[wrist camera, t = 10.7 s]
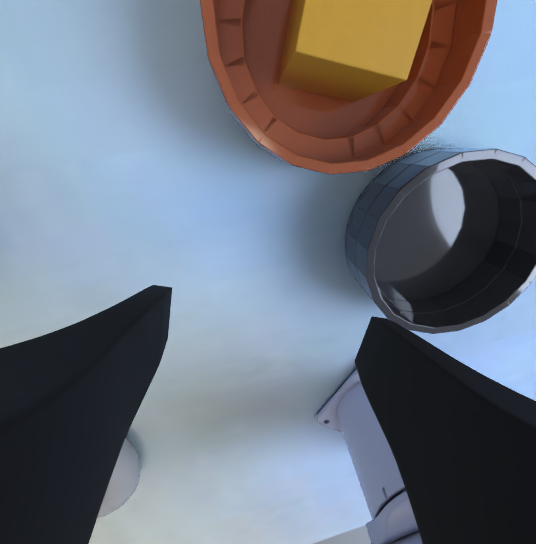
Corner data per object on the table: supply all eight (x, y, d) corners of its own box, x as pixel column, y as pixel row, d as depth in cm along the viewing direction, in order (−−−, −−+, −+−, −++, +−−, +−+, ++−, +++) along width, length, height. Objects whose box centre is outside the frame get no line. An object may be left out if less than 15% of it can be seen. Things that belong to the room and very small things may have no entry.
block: (379, 5, 15) (457, -77, 9) (353, 102, 17) (407, 80, 11) (295, -19, 14) (327, -123, 9) (277, 84, 16) (294, 51, 10)
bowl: (479, 6, 16) (563, -44, 12) (346, 203, 19) (373, 218, 15) (292, -185, 13) (315, -347, 8) (175, 92, 16) (151, 73, 12)
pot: (532, 205, 20) (596, 218, 17) (425, 324, 24) (458, 357, 20) (417, 111, 18) (463, 102, 14) (314, 262, 21) (328, 286, 17)
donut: (146, 487, 29) (145, 416, 25) (135, 529, 26) (131, 455, 22) (38, 485, 28) (18, 410, 24) (11, 529, 25) (-16, 450, 21)
